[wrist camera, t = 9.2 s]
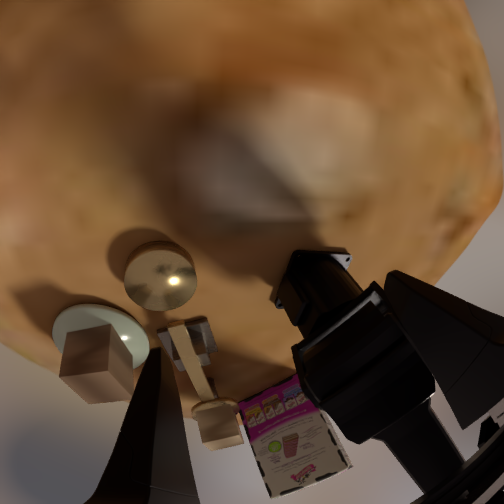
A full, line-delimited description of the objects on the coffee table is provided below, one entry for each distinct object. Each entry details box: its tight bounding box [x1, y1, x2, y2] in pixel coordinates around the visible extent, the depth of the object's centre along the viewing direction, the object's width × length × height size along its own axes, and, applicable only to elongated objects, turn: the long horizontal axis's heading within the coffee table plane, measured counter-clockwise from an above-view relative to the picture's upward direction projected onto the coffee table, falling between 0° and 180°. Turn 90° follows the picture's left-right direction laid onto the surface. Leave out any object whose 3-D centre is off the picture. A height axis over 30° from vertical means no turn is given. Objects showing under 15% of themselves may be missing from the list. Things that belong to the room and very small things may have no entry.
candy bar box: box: [238, 374, 353, 499], centre depth 32 cm, size 11×5×16 cm, turn 119°
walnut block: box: [59, 324, 134, 404], centre depth 21 cm, size 5×5×5 cm
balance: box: [124, 241, 240, 421], centre depth 25 cm, size 24×6×5 cm, turn 6°
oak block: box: [196, 404, 244, 451], centre depth 27 cm, size 4×4×4 cm
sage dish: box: [52, 304, 149, 369], centre depth 23 cm, size 10×10×1 cm
